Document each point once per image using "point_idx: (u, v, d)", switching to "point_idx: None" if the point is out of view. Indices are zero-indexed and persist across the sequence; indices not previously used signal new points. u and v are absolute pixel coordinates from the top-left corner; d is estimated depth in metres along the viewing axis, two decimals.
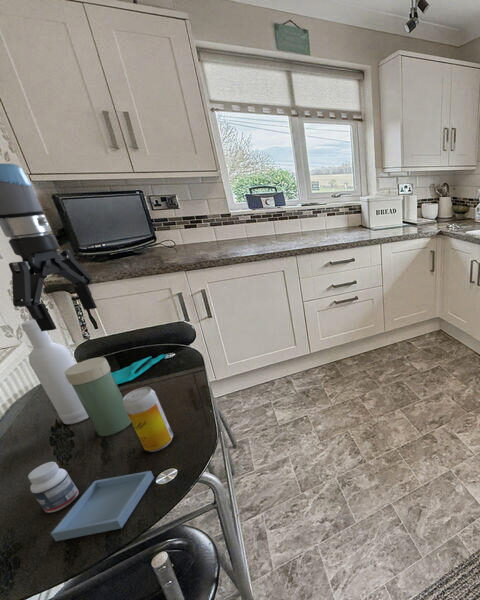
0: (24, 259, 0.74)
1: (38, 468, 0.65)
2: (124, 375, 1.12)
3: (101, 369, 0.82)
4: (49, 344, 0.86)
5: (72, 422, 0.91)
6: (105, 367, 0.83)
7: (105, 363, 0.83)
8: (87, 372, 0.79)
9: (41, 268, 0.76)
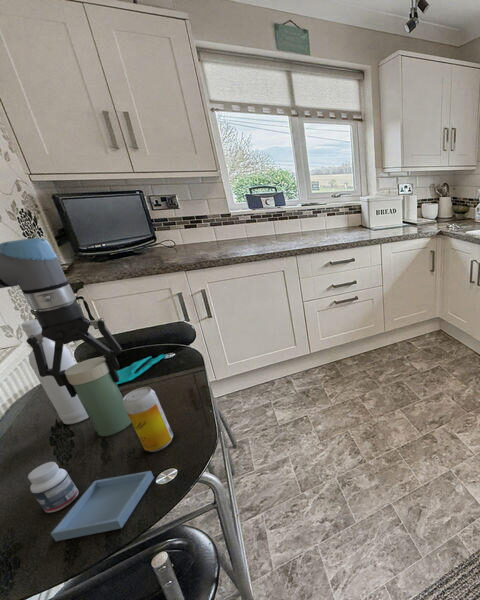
0: None
1: (38, 468, 0.65)
2: (124, 375, 1.12)
3: (101, 369, 0.82)
4: (49, 344, 0.86)
5: (72, 422, 0.91)
6: (105, 367, 0.83)
7: (105, 363, 0.83)
8: (87, 372, 0.79)
9: (55, 340, 0.77)
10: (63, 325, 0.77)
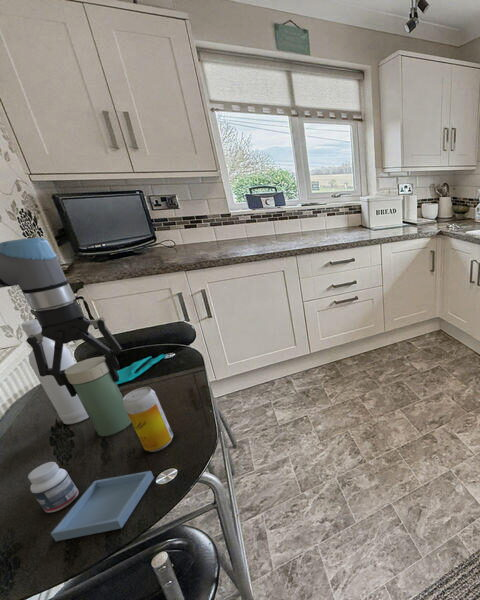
0: None
1: (38, 468, 0.65)
2: (124, 375, 1.12)
3: None
4: (49, 344, 0.86)
5: (72, 422, 0.91)
6: None
7: None
8: None
9: None
10: None
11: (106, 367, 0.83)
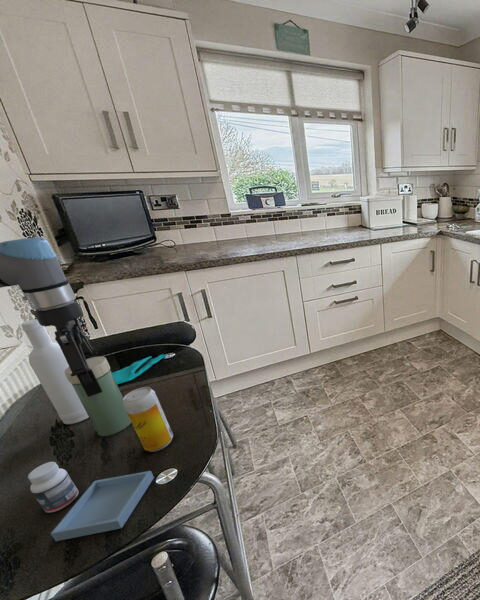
0: None
1: (38, 468, 0.65)
2: (124, 375, 1.12)
3: (71, 378, 0.79)
4: (49, 344, 0.86)
5: (72, 422, 0.91)
6: (77, 378, 0.79)
7: None
8: None
9: None
10: None
11: None
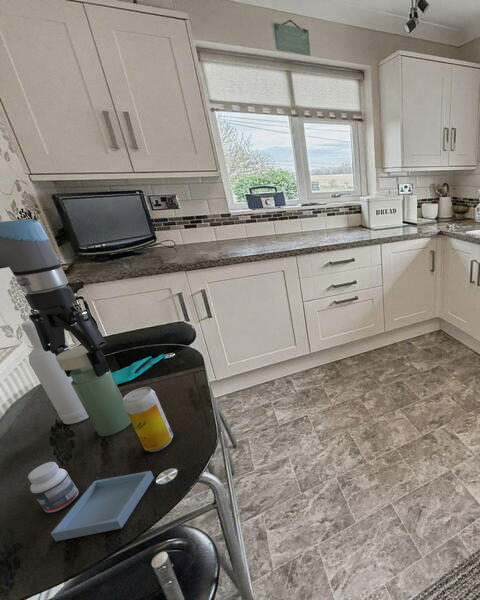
0: None
1: (38, 468, 0.65)
2: (124, 375, 1.12)
3: (78, 361, 0.78)
4: (49, 344, 0.86)
5: (72, 422, 0.91)
6: (85, 359, 0.79)
7: None
8: (63, 361, 0.77)
9: None
10: (51, 309, 0.75)
11: None
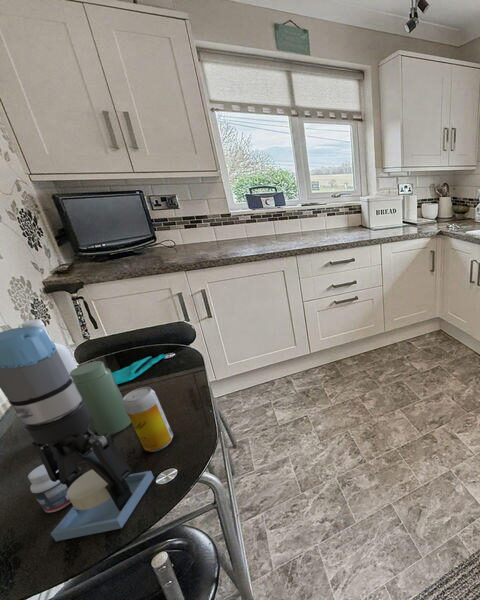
0: None
1: (38, 468, 0.65)
2: (124, 375, 1.12)
3: (96, 497, 0.60)
4: None
5: None
6: (104, 493, 0.61)
7: None
8: (76, 500, 0.59)
9: None
10: None
11: None
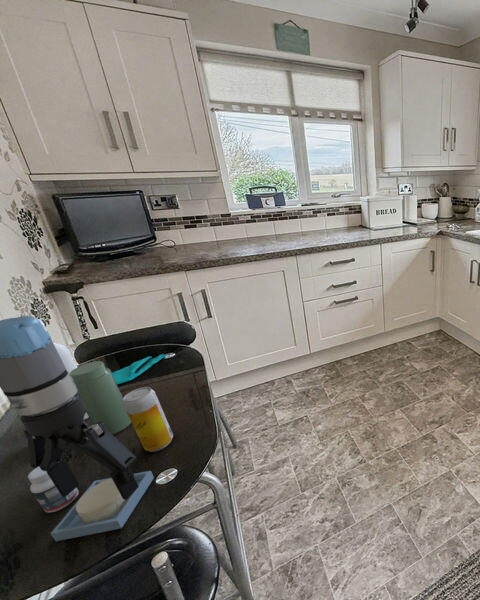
0: None
1: (38, 468, 0.65)
2: (124, 375, 1.12)
3: (104, 512, 0.62)
4: None
5: None
6: (112, 508, 0.63)
7: (114, 502, 0.63)
8: (85, 515, 0.61)
9: None
10: None
11: None
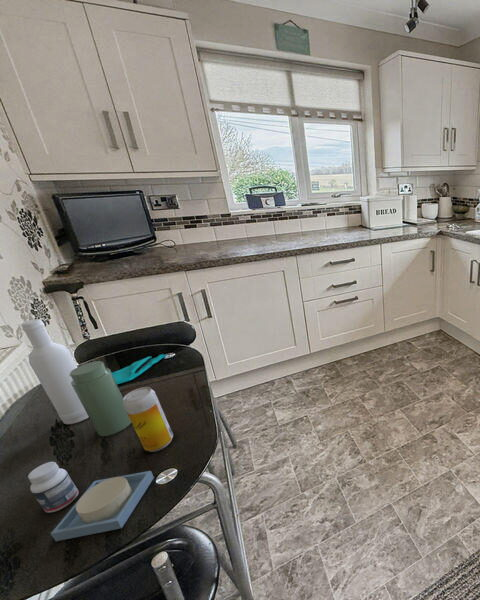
0: None
1: (38, 468, 0.65)
2: (124, 375, 1.12)
3: (104, 512, 0.62)
4: (49, 344, 0.86)
5: (72, 422, 0.91)
6: (112, 508, 0.63)
7: (114, 502, 0.63)
8: (85, 515, 0.61)
9: None
10: None
11: None
